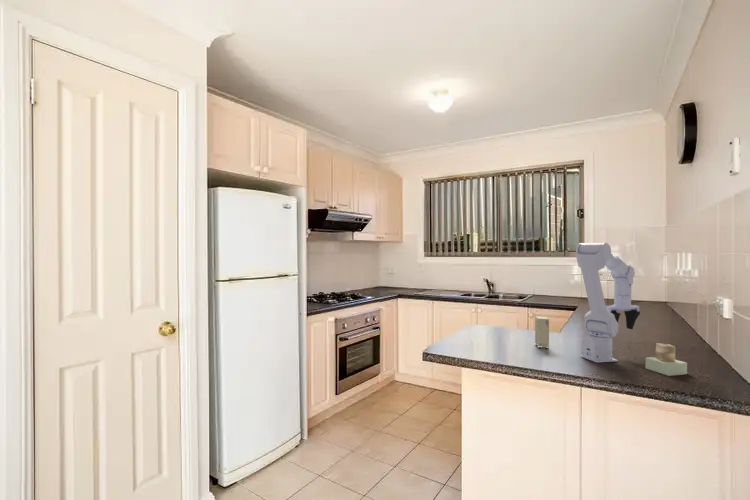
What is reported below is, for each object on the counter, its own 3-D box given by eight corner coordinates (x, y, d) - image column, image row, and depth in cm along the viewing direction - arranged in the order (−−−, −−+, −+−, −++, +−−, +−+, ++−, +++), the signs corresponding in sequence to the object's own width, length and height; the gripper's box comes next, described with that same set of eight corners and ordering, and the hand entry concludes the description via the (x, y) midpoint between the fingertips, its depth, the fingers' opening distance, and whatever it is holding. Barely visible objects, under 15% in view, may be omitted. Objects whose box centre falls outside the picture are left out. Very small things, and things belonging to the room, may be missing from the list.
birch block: (661, 360, 129) (661, 345, 129) (655, 357, 132) (656, 343, 132) (674, 362, 128) (675, 347, 128) (668, 358, 132) (669, 344, 132)
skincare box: (549, 349, 156) (549, 319, 156) (537, 348, 157) (538, 318, 157) (545, 345, 163) (546, 316, 162) (534, 344, 163) (535, 316, 163)
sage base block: (668, 376, 125) (668, 364, 125) (645, 369, 133) (645, 357, 133) (687, 374, 127) (687, 362, 127) (663, 367, 135) (663, 356, 135)
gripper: (628, 293, 158) (628, 326, 158) (599, 294, 154) (598, 327, 155) (644, 295, 151) (643, 330, 151) (614, 296, 148) (613, 331, 148)
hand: (622, 329), depth 152 cm, fingers open, 7 cm apart
